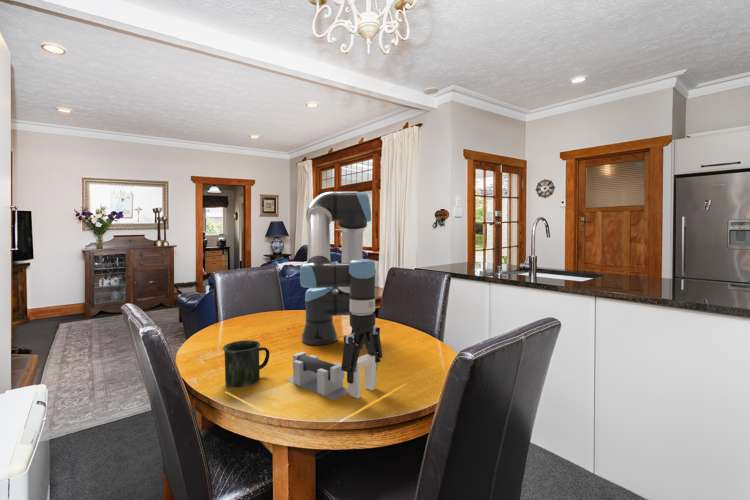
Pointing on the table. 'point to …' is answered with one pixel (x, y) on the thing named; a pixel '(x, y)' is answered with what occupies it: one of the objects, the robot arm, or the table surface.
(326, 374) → the cradle
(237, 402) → the table surface
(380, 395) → the table surface
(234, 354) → the mug
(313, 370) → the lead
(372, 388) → the u-shaped clip
